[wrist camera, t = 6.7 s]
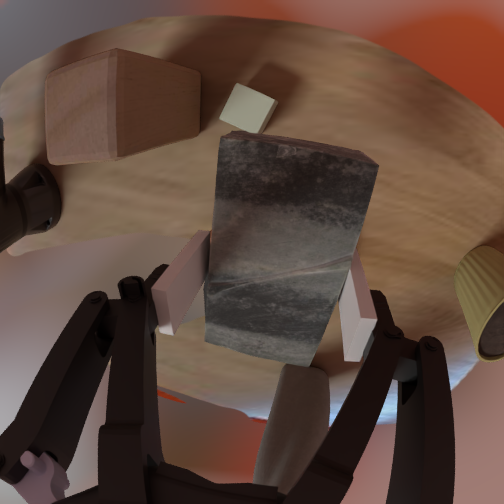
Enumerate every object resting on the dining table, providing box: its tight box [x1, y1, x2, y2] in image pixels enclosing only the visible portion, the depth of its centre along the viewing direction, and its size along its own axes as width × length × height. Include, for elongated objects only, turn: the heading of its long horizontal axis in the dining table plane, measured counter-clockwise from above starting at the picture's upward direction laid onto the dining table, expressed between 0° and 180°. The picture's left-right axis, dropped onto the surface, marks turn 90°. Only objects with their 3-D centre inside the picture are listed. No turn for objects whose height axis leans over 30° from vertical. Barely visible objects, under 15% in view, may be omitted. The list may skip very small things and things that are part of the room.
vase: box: [253, 364, 330, 494], centre depth 42 cm, size 12×12×30 cm
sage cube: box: [219, 83, 278, 134], centre depth 32 cm, size 5×5×5 cm
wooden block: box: [45, 48, 201, 165], centre depth 27 cm, size 10×10×20 cm
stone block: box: [203, 131, 379, 367], centre depth 17 cm, size 9×14×5 cm, turn 172°
